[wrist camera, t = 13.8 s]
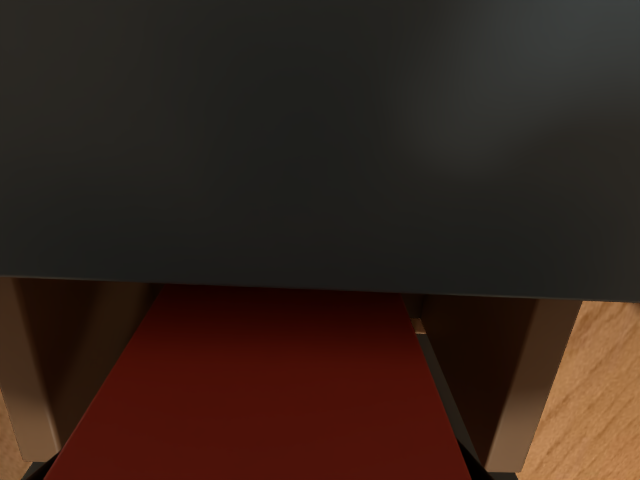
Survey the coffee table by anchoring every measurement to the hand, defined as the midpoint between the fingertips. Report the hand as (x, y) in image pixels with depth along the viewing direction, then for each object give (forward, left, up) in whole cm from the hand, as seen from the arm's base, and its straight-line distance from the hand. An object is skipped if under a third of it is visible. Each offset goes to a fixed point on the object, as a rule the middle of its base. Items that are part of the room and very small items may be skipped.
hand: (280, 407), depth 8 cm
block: (0, 0, -1) cm, 1 cm away
